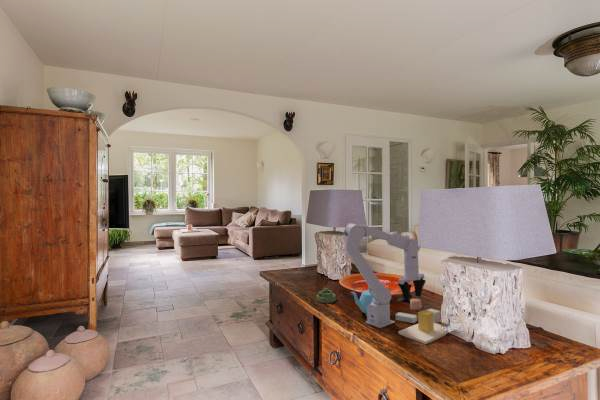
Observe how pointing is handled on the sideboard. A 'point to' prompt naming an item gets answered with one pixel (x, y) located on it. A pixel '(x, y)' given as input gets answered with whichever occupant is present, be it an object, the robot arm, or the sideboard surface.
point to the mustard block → (425, 321)
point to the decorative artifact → (326, 296)
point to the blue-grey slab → (406, 317)
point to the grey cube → (436, 315)
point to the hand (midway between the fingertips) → (412, 298)
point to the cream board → (423, 333)
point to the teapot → (363, 300)
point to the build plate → (404, 300)
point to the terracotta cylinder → (415, 304)
